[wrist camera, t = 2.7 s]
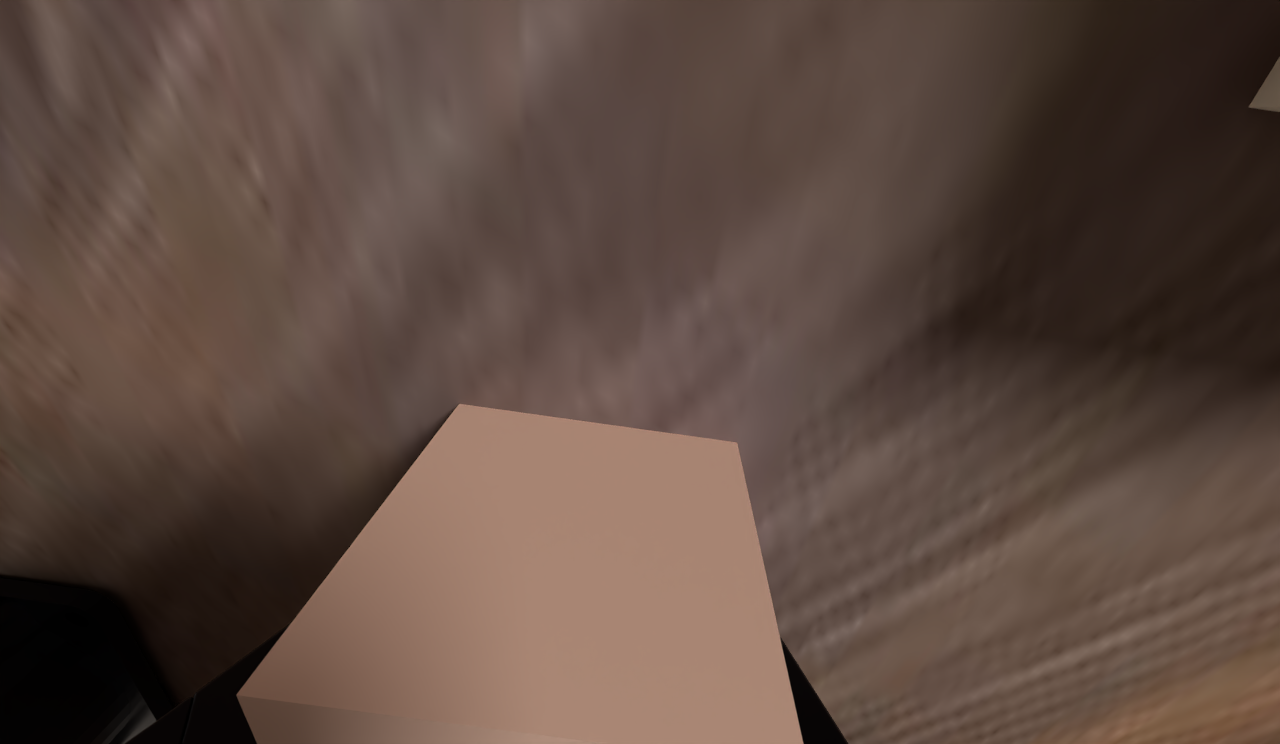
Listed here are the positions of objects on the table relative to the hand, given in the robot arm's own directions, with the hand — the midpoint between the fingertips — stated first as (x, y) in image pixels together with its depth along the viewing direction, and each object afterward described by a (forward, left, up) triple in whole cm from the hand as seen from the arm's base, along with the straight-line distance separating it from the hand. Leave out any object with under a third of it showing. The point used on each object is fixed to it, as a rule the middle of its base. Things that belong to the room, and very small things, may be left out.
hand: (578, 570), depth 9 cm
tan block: (0, 0, -1) cm, 1 cm away
